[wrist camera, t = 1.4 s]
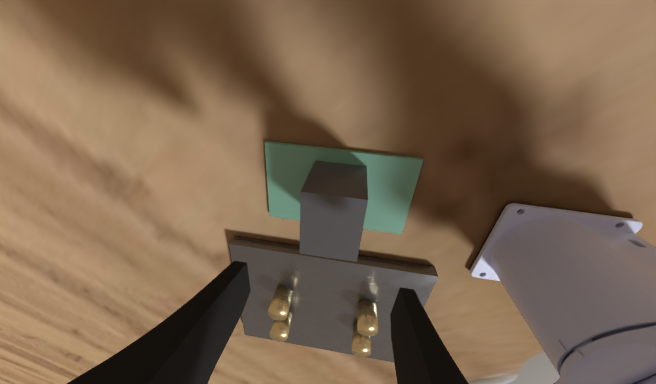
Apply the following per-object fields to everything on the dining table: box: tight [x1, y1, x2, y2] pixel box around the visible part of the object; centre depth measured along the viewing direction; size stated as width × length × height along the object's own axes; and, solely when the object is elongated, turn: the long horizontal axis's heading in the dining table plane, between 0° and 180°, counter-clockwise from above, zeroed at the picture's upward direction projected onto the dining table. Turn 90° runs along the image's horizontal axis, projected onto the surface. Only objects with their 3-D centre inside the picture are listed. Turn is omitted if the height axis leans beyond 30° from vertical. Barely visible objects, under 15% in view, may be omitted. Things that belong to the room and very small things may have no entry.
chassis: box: [229, 236, 438, 362], centre depth 25 cm, size 20×16×4 cm
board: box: [265, 141, 423, 262], centre depth 17 cm, size 12×7×6 cm, turn 86°
